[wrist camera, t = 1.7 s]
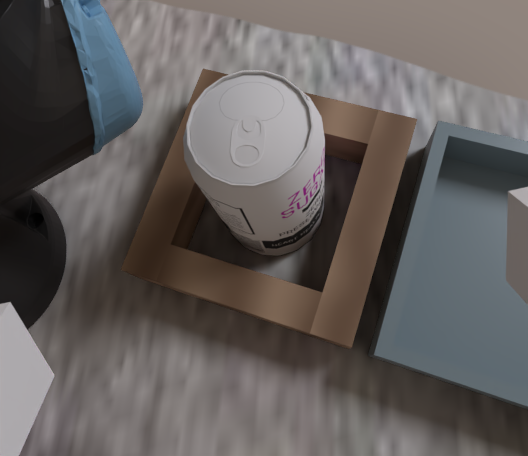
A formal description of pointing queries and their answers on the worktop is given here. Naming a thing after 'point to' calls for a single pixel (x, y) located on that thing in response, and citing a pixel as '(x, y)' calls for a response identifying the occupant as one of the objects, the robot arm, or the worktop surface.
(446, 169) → the tray
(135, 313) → the worktop surface
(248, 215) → the white soda can
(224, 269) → the can holder
